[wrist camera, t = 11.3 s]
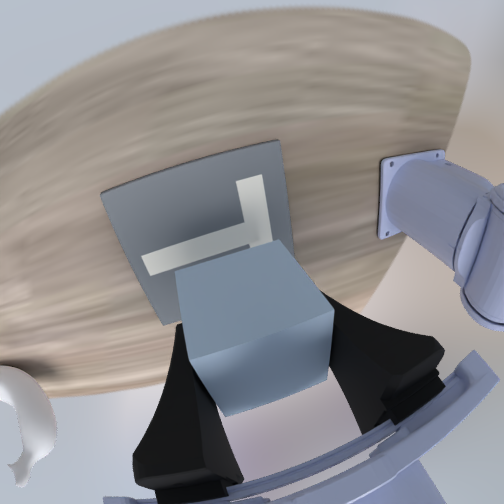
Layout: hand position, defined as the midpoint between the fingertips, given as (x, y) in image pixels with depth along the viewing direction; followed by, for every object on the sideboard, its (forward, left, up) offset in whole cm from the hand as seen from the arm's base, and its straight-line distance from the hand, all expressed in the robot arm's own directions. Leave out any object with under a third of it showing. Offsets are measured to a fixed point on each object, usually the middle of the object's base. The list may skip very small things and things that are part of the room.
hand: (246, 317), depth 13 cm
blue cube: (0, 0, -2) cm, 2 cm away
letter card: (0, 0, -8) cm, 8 cm away
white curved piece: (+29, +7, -9) cm, 31 cm away
